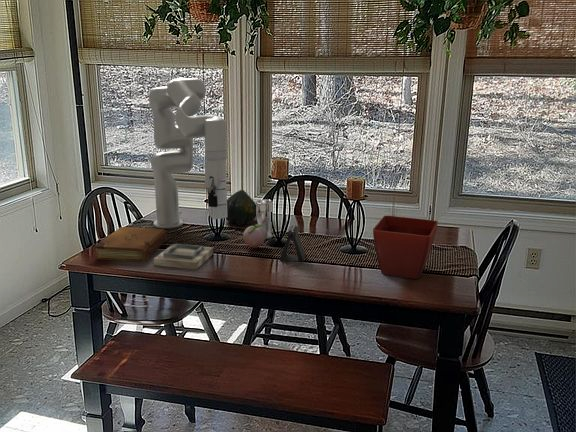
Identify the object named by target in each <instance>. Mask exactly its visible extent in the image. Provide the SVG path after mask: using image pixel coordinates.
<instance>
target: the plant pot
mask: <svg viewBox="0 0 576 432" xmlns="http://www.w3.org/2000/svg"><path fill="white" fill-rule="evenodd" d="M438 224H439V221H437V220H434V219H433V220H432V219H425V218H424V219H423V218H415V217H414V218H413V217H408V216H407V217H405V216H398V215H397V216H395V215H384V216H383V217H381V219H380V220H379V221H378V223H377V224H376V225H375V226H374V227H373V229H372V234H373V235H372V237H373V242H374V248H375V249H374V250H375V254H376V259H377V262H378V266H379V269H380V271H381V274H382V275H384V276H385V275H387V276H394V277H401V278H407V279H414V280H418V279H419V278H420V277H421V276H422V273H423V270H424V268H425V267H426V265H427V262H428V259H429V257H430V253H431V251H432V247H433V244H434V240H435V237H436V232H437V230H438Z"/></svg>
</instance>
